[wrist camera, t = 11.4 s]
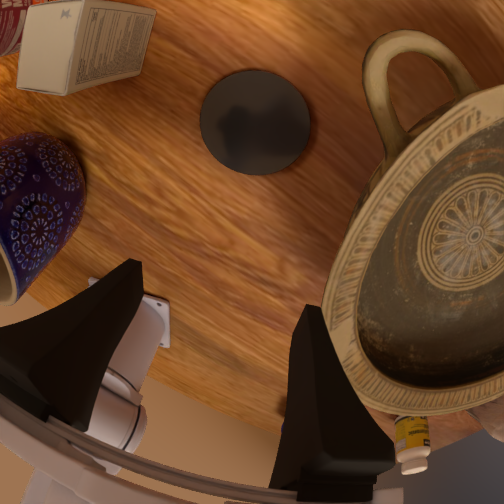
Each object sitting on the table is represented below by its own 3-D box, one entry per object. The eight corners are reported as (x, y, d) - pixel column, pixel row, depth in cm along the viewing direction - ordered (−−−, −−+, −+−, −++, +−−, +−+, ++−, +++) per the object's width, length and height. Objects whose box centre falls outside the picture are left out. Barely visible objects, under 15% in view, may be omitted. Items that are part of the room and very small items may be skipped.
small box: (107, 6, 14) (26, 3, 7) (159, 9, 14) (84, -4, 8) (93, 69, 17) (13, 90, 10) (141, 77, 17) (64, 98, 11)
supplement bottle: (432, 409, 36) (439, 464, 29) (413, 423, 40) (416, 474, 32) (407, 408, 36) (411, 467, 29) (388, 422, 40) (390, 476, 32)
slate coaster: (196, 161, 20) (193, 163, 20) (210, 62, 16) (208, 62, 16) (295, 183, 20) (295, 186, 20) (322, 84, 16) (322, 85, 16)
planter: (55, 239, 27) (-10, 312, 18) (7, 153, 22) (-74, 210, 13) (123, 207, 23) (41, 299, 15) (65, 95, 18) (-49, 145, 9)
